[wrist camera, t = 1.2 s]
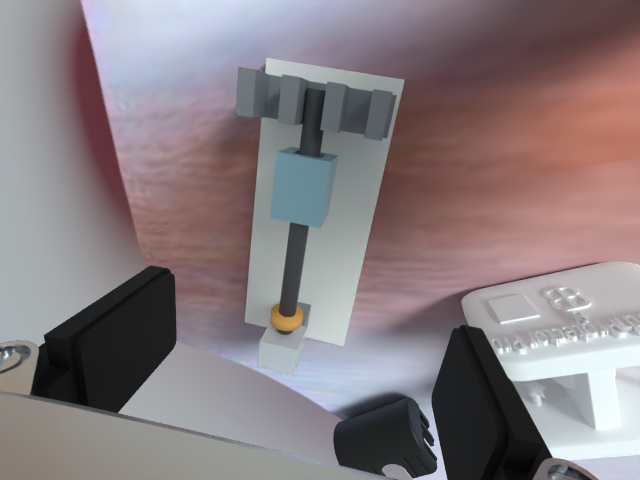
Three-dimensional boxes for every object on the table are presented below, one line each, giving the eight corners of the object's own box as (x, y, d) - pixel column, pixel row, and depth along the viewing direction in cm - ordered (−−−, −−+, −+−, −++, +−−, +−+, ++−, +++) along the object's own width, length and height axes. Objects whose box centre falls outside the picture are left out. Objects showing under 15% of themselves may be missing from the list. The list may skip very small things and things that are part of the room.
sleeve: (290, 146, 27) (276, 152, 24) (338, 155, 27) (331, 162, 23) (284, 204, 29) (269, 217, 26) (328, 213, 29) (320, 228, 25)
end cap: (405, 381, 40) (409, 430, 34) (433, 422, 41) (443, 476, 35) (336, 407, 43) (329, 456, 37) (365, 444, 45) (363, 497, 39)
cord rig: (270, 60, 30) (226, 39, 21) (403, 81, 29) (413, 67, 20) (248, 316, 40) (213, 370, 32) (344, 339, 39) (334, 402, 31)
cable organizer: (476, 365, 38) (514, 466, 27) (455, 285, 35) (488, 363, 24) (633, 341, 33) (751, 449, 23) (624, 248, 30) (755, 321, 20)
